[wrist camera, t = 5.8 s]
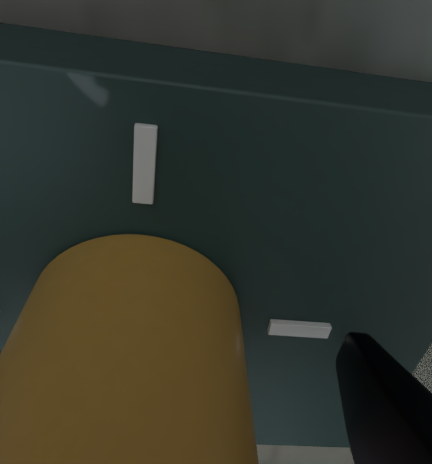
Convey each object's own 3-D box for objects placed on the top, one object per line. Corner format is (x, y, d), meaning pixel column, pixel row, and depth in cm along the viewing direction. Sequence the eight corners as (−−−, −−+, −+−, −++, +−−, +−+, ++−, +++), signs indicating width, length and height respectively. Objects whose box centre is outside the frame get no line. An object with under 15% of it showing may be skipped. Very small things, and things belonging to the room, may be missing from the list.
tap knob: (223, 385, 10) (241, 654, 6) (43, 376, 10) (-63, 661, 6) (256, 243, 8) (318, 534, 4) (19, 222, 7) (-189, 528, 3)
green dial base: (467, 86, 9) (571, 135, 7) (338, 367, 15) (368, 454, 12) (-200, -6, 8) (-399, 10, 5) (-71, 343, 13) (-137, 437, 11)
